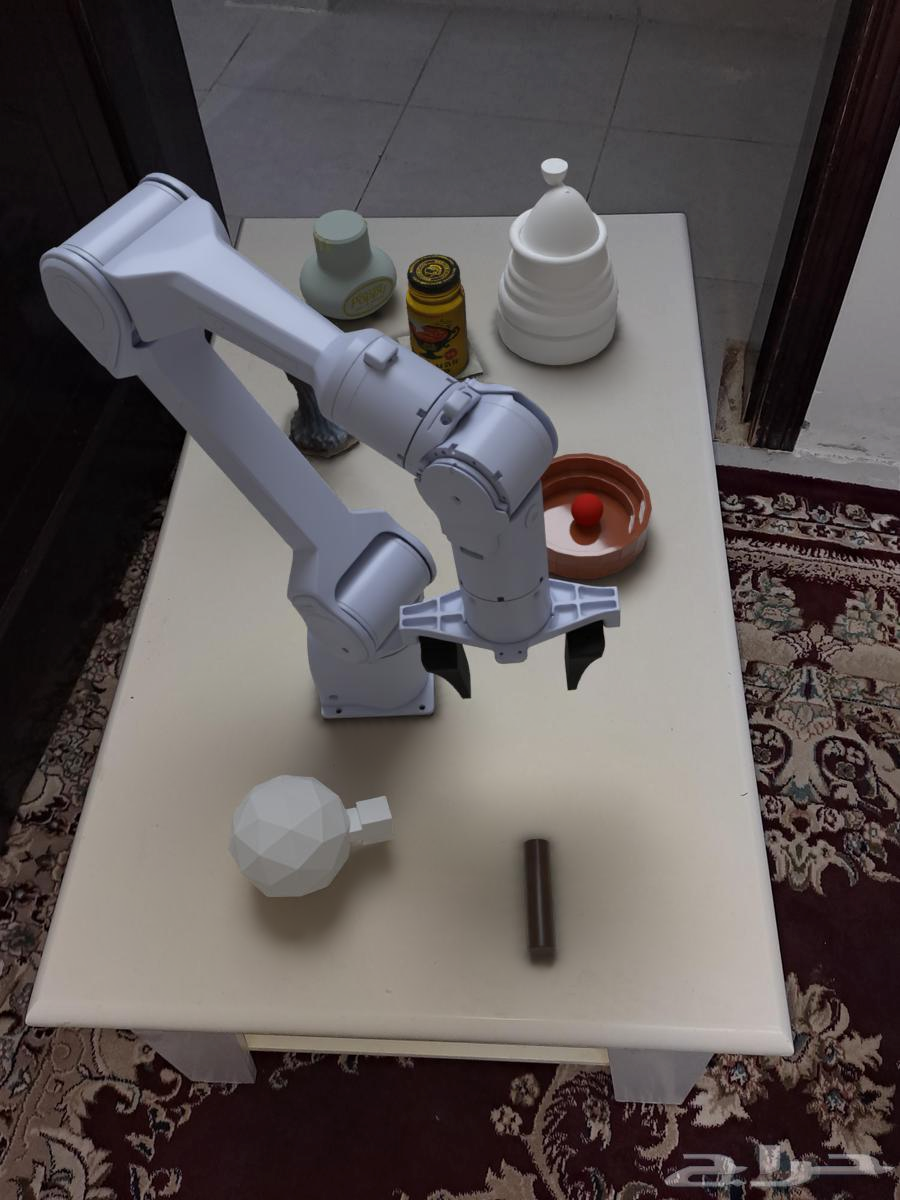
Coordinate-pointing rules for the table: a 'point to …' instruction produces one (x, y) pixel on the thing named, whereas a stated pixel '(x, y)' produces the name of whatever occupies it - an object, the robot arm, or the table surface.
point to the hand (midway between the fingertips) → (518, 682)
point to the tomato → (587, 509)
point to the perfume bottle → (300, 834)
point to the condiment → (439, 316)
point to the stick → (539, 897)
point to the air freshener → (346, 268)
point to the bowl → (612, 535)
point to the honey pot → (558, 278)
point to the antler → (315, 425)
